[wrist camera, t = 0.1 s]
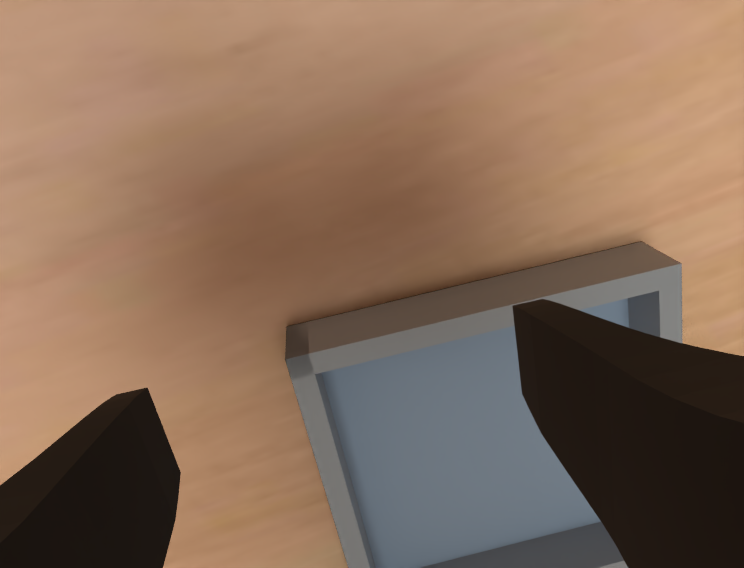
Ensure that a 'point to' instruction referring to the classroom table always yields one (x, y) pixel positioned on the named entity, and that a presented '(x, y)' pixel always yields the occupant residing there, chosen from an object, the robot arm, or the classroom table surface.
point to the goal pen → (461, 417)
